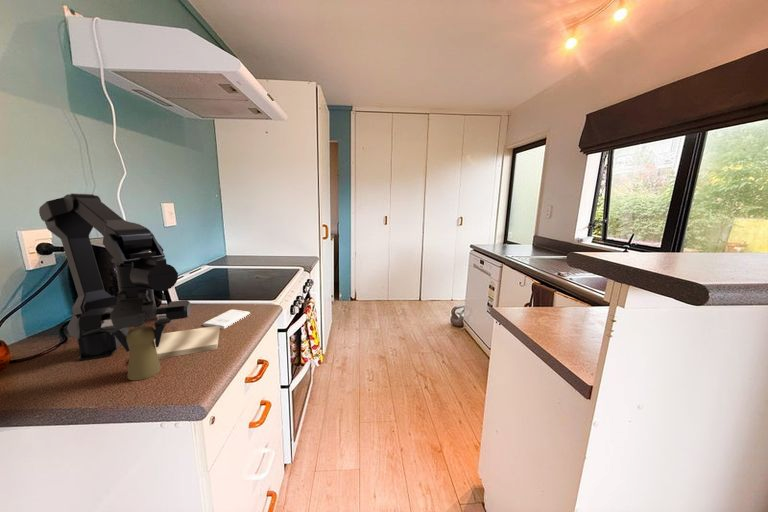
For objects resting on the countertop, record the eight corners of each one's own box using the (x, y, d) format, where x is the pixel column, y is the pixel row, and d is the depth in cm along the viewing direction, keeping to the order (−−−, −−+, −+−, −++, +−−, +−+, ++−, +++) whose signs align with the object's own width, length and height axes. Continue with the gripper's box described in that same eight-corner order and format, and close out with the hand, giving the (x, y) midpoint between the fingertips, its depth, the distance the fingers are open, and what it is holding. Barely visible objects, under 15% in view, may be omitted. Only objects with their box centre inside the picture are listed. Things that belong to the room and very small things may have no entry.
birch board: (132, 363, 69) (131, 358, 68) (147, 340, 80) (146, 335, 80) (216, 349, 77) (216, 344, 76) (219, 330, 88) (219, 325, 88)
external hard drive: (250, 315, 101) (224, 330, 89) (230, 313, 103) (202, 327, 91) (250, 311, 101) (223, 325, 89) (230, 309, 102) (202, 322, 90)
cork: (126, 371, 65) (122, 327, 63) (159, 362, 69) (156, 321, 68) (127, 383, 61) (123, 337, 59) (162, 373, 65) (159, 329, 63)
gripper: (55, 300, 50) (68, 377, 53) (180, 290, 59) (186, 357, 62) (84, 284, 60) (94, 350, 63) (188, 277, 69) (193, 335, 71)
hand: (143, 348), depth 64 cm, fingers closed on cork, 5 cm apart
